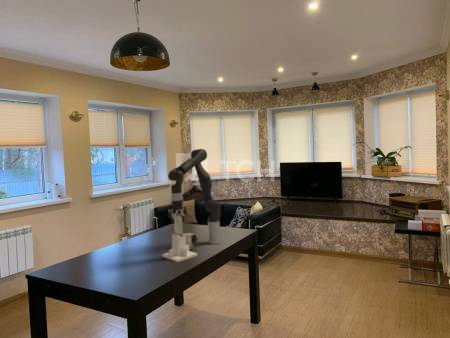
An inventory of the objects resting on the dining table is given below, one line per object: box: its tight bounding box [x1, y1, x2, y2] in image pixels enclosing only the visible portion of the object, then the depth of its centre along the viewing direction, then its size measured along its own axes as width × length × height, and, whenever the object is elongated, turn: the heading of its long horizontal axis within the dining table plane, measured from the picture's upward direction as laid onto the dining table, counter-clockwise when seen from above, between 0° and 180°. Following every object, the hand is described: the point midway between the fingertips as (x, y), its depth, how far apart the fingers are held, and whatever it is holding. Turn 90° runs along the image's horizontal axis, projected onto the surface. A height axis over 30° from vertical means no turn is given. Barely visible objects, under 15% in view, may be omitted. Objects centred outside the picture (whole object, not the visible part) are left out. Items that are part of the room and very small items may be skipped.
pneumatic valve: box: [184, 232, 198, 250], centre depth 250 cm, size 6×12×12 cm, turn 56°
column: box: [173, 216, 184, 235], centre depth 231 cm, size 4×4×20 cm
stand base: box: [161, 233, 198, 263], centre depth 232 cm, size 17×18×16 cm
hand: (178, 222), depth 231 cm, fingers open, 8 cm apart
